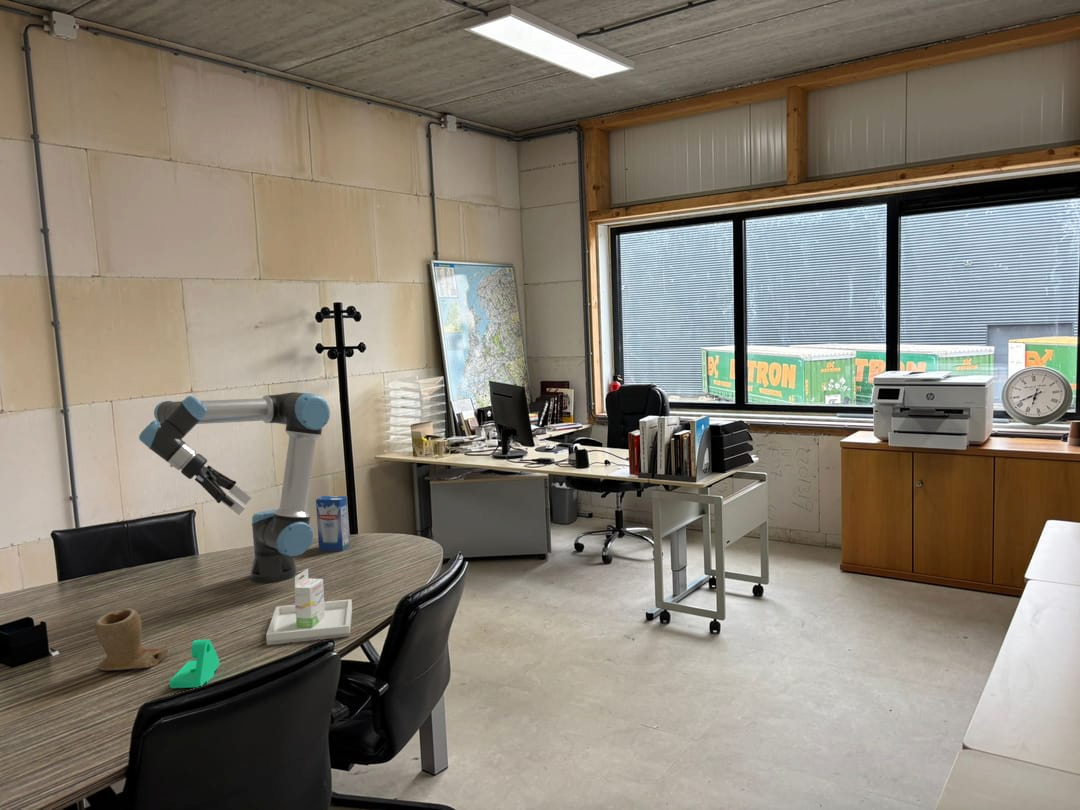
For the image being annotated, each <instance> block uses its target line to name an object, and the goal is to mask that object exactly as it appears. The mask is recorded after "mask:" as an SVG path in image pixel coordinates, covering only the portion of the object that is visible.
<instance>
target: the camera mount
mask: <svg viewBox="0 0 1080 810" xmlns="http://www.w3.org/2000/svg"><path fill="white" fill-rule="evenodd" d="M190 654H191V657H192V659H196V660H189V661H187V662H186V663H185V664H184V665H183V666H182V667H181V668H180V669H179V670H178V671H177V673H176V674H174V676H173V677H171V678H170V680H169V688H170V689H185V688H200V687H199V686H201V687H203V685H204V684H205V685H206V684H208V683H209V682H210V681H211V680H212V679H213V677H214V676H215V671H216V670H217V669H218V668H219V666H220V665H221V664H220V658H219V656H218V653H217V652H216V649H215V647H214V645H213V643H212V640H211V639H209V638H208V639H195V640H193V642H192V643H191V648H190ZM210 679H211V680H210ZM209 680H210V681H209ZM208 681H209V682H208Z"/></svg>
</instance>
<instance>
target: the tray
mask: <svg viewBox="0 0 1080 810" xmlns="http://www.w3.org/2000/svg"><path fill="white" fill-rule="evenodd" d="M352 601H353V599H351V598H348V599H340V600H339V599H338V600H330V601H329V600H328V601H324V606H325V618H324V619H322V620H321V621H320V622H318V623H317V624H316V625H315V626H313V627H312V628H310V627H309V628H306V627H297V622H296V605H295V604H288V605H278V606H275V608H274V612H273V615H272V618H271V620H270V623H269V626H268V628H267V631H266V634H265V637H266V645H267V646H270V645H271V646H272V645H280V644H289V643H290V642H292V643H298V642H299V643H300V642H310V640H311V641H317V640H318V639H319V641H320V640H326V639H327V640H328V639H339V638H348V637H350V635H351V627H352V626H351V625H352V617H353V615H352V614H353V602H352Z"/></svg>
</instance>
